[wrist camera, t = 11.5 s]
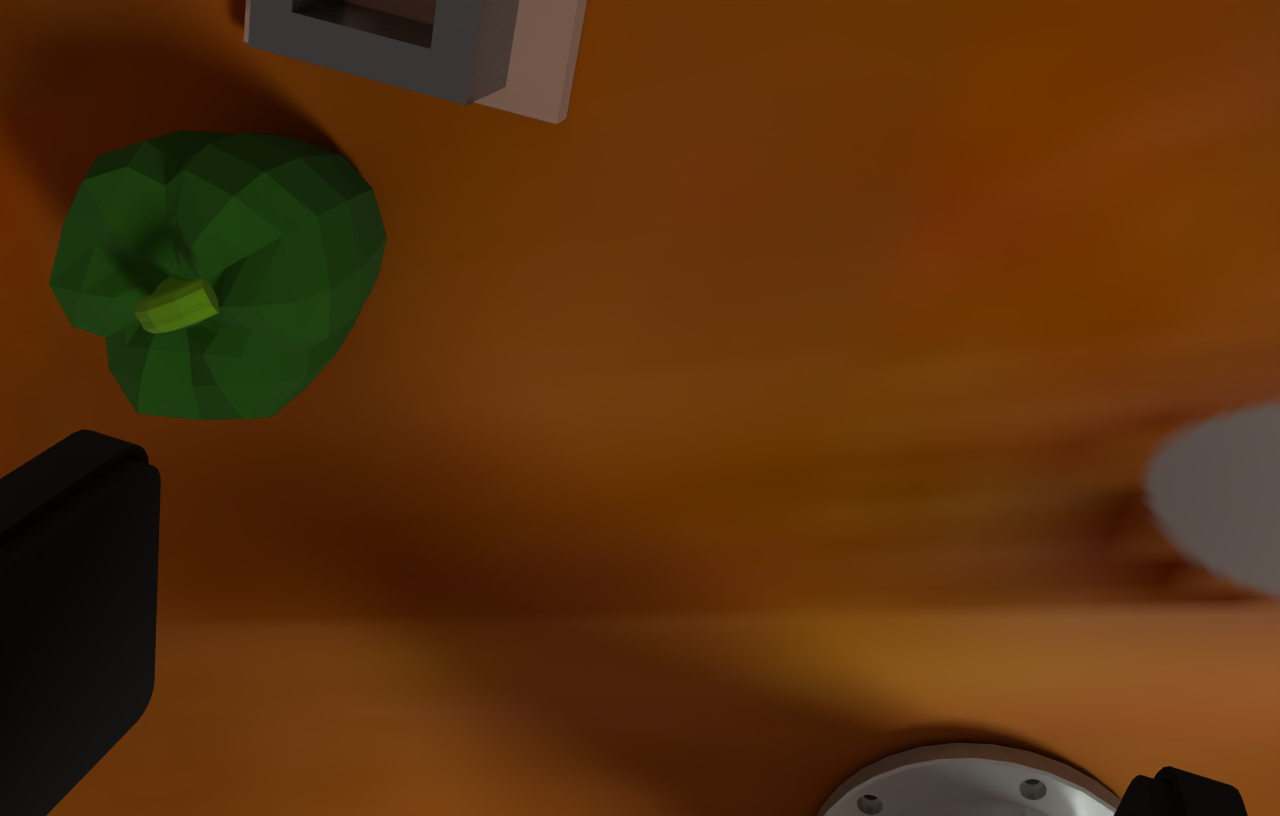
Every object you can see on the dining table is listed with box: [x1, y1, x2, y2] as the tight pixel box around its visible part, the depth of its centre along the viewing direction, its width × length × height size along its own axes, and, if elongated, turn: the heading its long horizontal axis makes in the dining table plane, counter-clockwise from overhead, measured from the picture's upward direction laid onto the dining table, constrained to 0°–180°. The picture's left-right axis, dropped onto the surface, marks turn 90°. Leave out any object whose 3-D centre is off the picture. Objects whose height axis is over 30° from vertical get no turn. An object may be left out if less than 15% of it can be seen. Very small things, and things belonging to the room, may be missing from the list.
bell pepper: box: [49, 130, 387, 420], centre depth 35 cm, size 8×8×10 cm
